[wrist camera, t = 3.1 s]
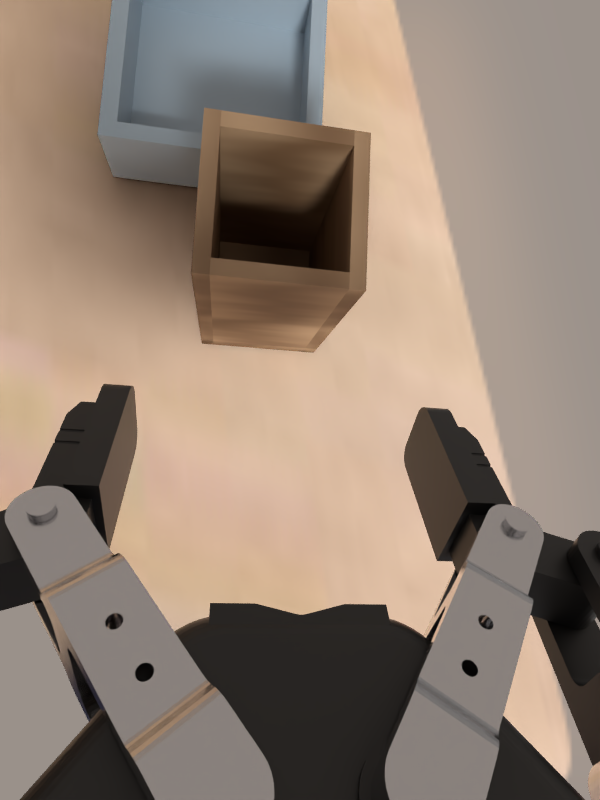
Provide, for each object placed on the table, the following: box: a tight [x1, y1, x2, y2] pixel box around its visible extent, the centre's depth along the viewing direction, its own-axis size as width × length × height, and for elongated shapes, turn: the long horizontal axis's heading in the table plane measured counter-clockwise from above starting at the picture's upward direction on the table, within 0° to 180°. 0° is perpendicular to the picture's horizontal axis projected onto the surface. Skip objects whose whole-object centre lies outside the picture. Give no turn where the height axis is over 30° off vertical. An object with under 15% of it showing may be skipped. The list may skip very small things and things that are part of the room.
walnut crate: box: [191, 108, 371, 352], centre depth 22 cm, size 6×6×10 cm
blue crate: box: [97, 0, 327, 188], centre depth 26 cm, size 11×11×4 cm
